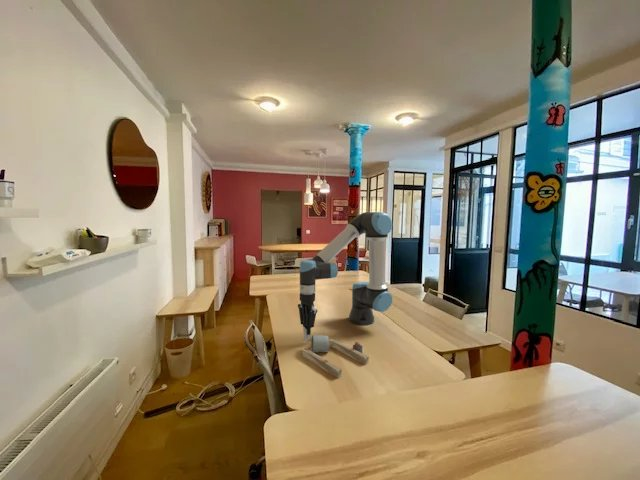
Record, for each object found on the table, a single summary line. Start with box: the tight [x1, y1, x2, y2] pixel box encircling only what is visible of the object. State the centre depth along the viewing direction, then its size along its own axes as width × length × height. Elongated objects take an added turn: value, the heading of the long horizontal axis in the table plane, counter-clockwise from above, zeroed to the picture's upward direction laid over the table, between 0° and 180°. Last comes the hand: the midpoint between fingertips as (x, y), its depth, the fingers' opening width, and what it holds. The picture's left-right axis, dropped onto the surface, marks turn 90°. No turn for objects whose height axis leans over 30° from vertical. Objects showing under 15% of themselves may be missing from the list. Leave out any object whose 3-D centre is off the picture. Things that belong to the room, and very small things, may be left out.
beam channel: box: [301, 338, 370, 379], centre depth 125 cm, size 22×23×5 cm
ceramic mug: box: [310, 334, 331, 354], centre depth 132 cm, size 11×8×8 cm
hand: (307, 340), depth 138 cm, fingers closed
